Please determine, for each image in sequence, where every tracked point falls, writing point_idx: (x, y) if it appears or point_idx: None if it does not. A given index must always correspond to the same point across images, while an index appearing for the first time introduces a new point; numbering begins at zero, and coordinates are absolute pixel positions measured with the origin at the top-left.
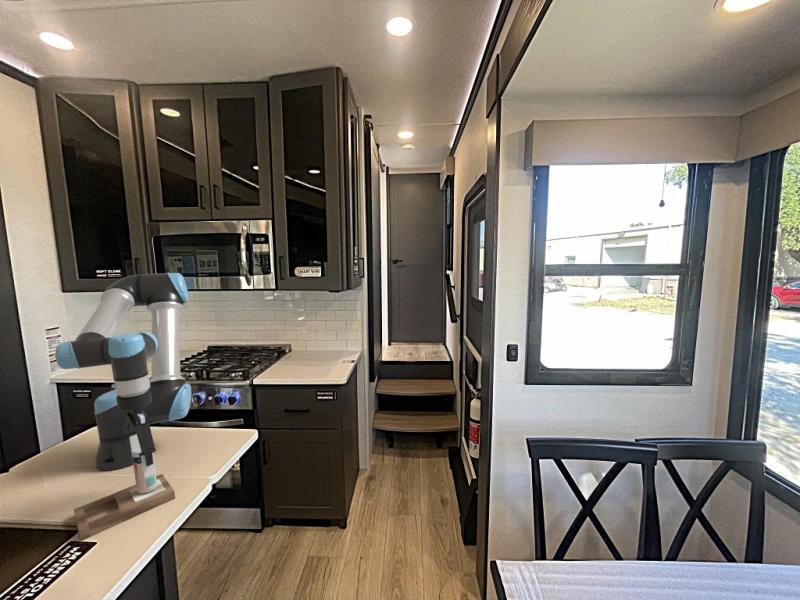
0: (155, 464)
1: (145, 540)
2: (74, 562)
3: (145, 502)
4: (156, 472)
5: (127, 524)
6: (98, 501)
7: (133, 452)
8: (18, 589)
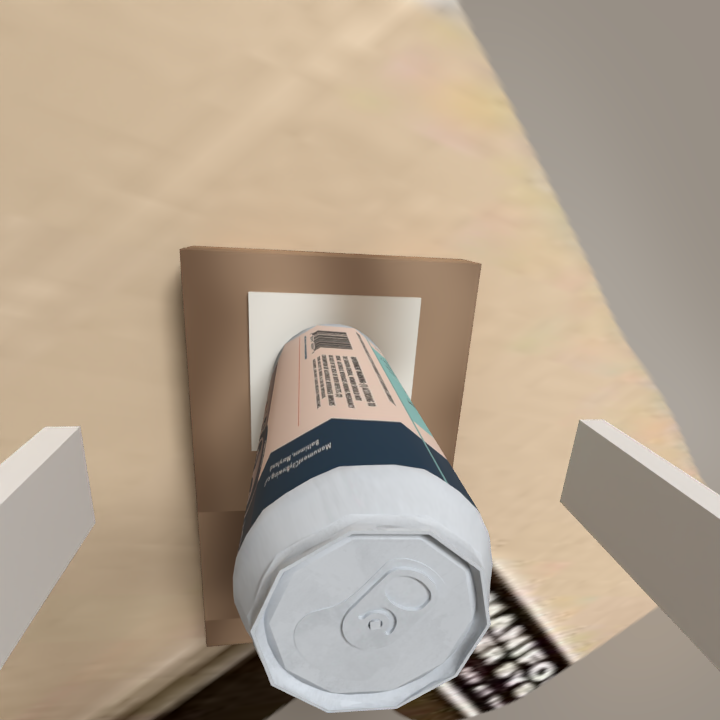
0: (679, 470)
1: (634, 436)
2: (522, 608)
3: (448, 408)
4: (609, 426)
5: (468, 467)
6: (223, 569)
7: (364, 701)
8: (501, 702)
